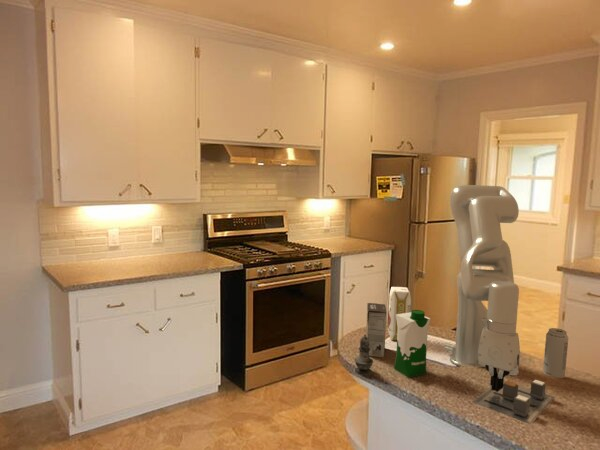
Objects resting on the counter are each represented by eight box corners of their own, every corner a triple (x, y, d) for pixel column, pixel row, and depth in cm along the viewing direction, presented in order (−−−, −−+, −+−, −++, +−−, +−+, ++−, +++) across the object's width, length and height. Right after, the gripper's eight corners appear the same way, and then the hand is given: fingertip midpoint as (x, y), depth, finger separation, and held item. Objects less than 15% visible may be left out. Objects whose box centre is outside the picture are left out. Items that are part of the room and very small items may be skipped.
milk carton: (408, 379, 137) (411, 315, 135) (389, 367, 145) (392, 307, 143) (430, 374, 141) (434, 312, 139) (411, 363, 149) (414, 304, 147)
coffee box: (365, 346, 163) (367, 302, 162) (383, 347, 163) (385, 303, 161) (365, 355, 154) (367, 310, 153) (384, 357, 154) (386, 311, 152)
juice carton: (406, 334, 177) (408, 286, 174) (409, 342, 168) (412, 292, 166) (386, 333, 177) (389, 285, 175) (389, 341, 169) (391, 291, 167)
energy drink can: (543, 371, 146) (547, 326, 144) (564, 375, 143) (569, 329, 141) (542, 378, 140) (546, 331, 139) (564, 383, 137) (568, 335, 136)
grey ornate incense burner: (350, 368, 144) (352, 332, 142) (366, 366, 146) (368, 330, 145) (360, 376, 138) (361, 338, 137) (376, 373, 141) (378, 336, 139)
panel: (471, 406, 122) (471, 401, 122) (499, 383, 136) (500, 379, 136) (530, 428, 112) (530, 424, 112) (554, 401, 126) (555, 397, 126)
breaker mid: (501, 396, 124) (502, 383, 124) (506, 392, 127) (507, 379, 127) (513, 400, 122) (514, 387, 122) (517, 396, 125) (519, 383, 124)
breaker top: (529, 395, 125) (530, 382, 125) (533, 391, 128) (535, 378, 128) (541, 399, 123) (542, 386, 123) (545, 395, 126) (546, 382, 126)
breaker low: (512, 412, 116) (513, 398, 116) (517, 407, 119) (518, 393, 118) (524, 417, 114) (526, 402, 114) (529, 411, 117) (530, 397, 116)
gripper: (468, 322, 128) (464, 384, 130) (524, 336, 117) (519, 403, 119) (480, 317, 133) (476, 376, 135) (534, 330, 122) (529, 394, 124)
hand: (496, 389), depth 127 cm, fingers closed
